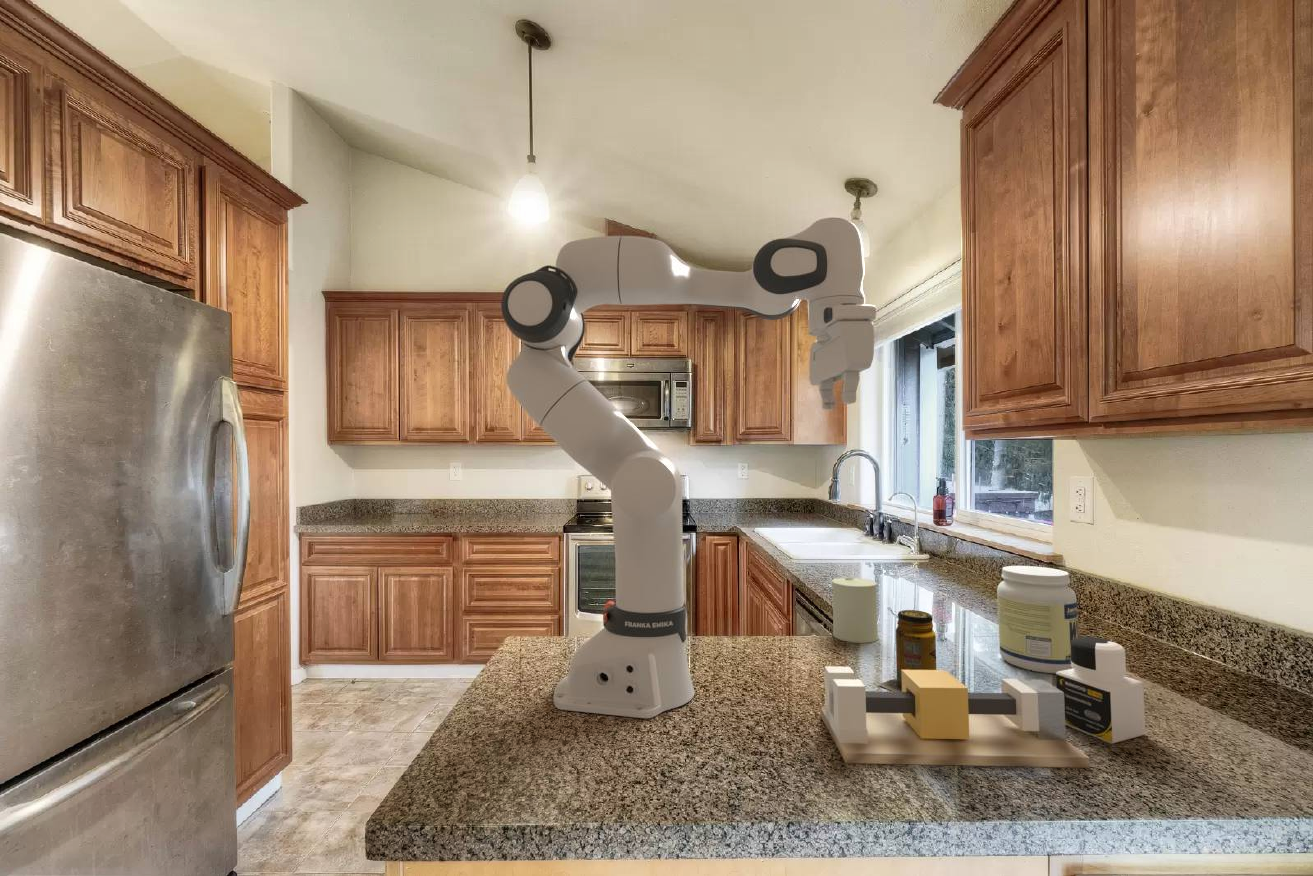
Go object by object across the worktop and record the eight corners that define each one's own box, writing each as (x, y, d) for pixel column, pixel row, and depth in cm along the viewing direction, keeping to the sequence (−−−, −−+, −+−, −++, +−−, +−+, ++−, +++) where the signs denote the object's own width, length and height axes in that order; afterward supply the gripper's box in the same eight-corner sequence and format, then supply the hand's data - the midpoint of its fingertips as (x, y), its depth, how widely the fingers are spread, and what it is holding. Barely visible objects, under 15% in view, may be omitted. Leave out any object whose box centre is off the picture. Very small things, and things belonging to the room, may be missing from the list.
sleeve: (921, 738, 73) (919, 687, 74) (902, 716, 80) (901, 669, 80) (969, 739, 73) (967, 688, 73) (946, 717, 79) (945, 670, 80)
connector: (1038, 740, 73) (1036, 692, 74) (1018, 724, 78) (1017, 679, 78) (1066, 740, 73) (1064, 692, 74) (1044, 724, 78) (1042, 679, 78)
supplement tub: (1085, 680, 96) (1080, 579, 97) (1000, 668, 102) (997, 573, 103) (1074, 658, 107) (1070, 567, 108) (998, 649, 113) (995, 562, 114)
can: (867, 629, 127) (865, 574, 127) (886, 642, 117) (884, 583, 118) (826, 630, 126) (825, 575, 127) (842, 643, 117) (841, 584, 117)
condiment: (948, 689, 93) (946, 614, 94) (918, 701, 89) (916, 623, 89) (907, 675, 99) (905, 605, 100) (877, 686, 95) (875, 613, 95)
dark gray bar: (837, 712, 76) (836, 697, 76) (833, 706, 78) (833, 691, 78) (1039, 715, 75) (1038, 699, 75) (1030, 708, 77) (1029, 693, 77)
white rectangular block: (1023, 730, 73) (1021, 692, 74) (1002, 714, 78) (1001, 678, 78) (1039, 731, 73) (1037, 692, 74) (1017, 714, 78) (1016, 678, 78)
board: (845, 763, 71) (845, 753, 71) (821, 716, 84) (820, 708, 84) (1089, 767, 69) (1089, 757, 69) (1026, 719, 82) (1026, 711, 82)
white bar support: (839, 743, 73) (838, 687, 73) (824, 715, 81) (823, 665, 81) (867, 743, 73) (866, 687, 73) (850, 716, 81) (848, 665, 81)
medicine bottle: (1056, 722, 81) (1053, 636, 82) (1090, 714, 84) (1086, 630, 84) (1112, 745, 74) (1107, 651, 75) (1146, 735, 77) (1142, 645, 77)
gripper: (799, 335, 103) (801, 412, 102) (838, 304, 82) (840, 399, 82) (834, 335, 103) (836, 412, 102) (881, 303, 82) (883, 399, 82)
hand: (838, 406), depth 92 cm, fingers open, 8 cm apart
